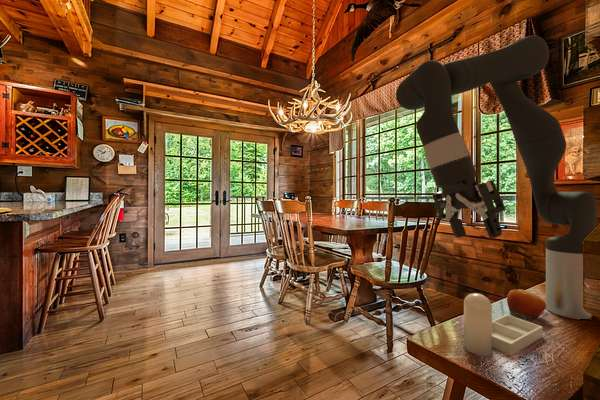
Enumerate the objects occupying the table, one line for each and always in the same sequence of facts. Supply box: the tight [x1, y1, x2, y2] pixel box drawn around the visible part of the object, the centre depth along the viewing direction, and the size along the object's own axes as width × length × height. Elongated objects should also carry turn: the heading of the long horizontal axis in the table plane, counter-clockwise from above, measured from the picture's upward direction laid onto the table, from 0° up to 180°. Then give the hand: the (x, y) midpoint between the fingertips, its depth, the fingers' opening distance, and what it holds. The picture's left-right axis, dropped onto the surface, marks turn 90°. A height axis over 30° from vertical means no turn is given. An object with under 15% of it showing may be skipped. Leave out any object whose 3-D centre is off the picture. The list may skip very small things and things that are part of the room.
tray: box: [492, 314, 544, 356], centre depth 61 cm, size 14×7×2 cm, turn 118°
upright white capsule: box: [463, 292, 493, 357], centre depth 57 cm, size 5×5×12 cm
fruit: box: [506, 288, 546, 321], centre depth 72 cm, size 8×8×8 cm
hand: (477, 236), depth 53 cm, fingers open, 8 cm apart
